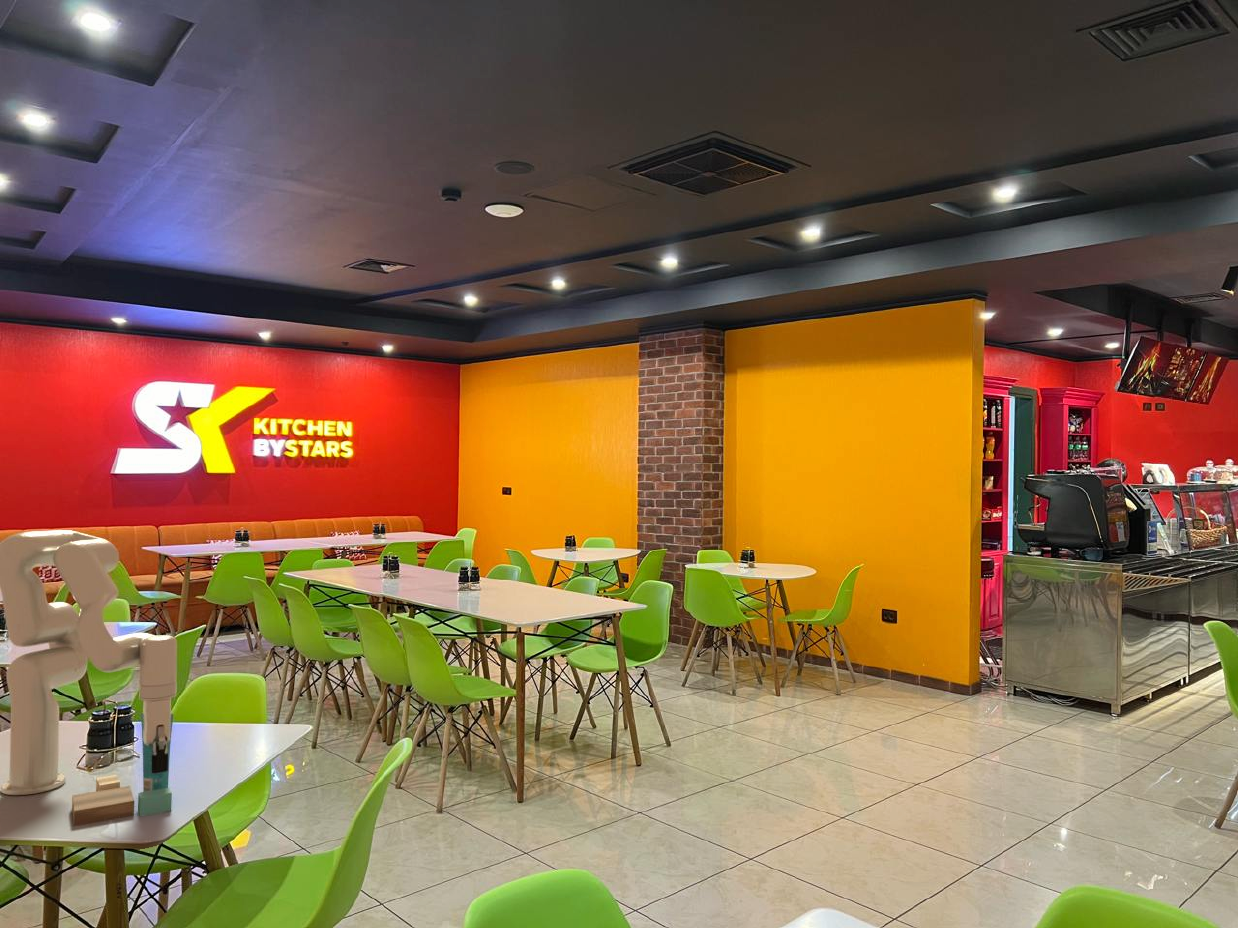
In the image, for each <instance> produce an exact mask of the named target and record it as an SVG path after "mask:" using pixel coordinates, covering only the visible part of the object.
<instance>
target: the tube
mask: <svg viewBox="0 0 1238 928" xmlns="http://www.w3.org/2000/svg"><path fill="white" fill-rule="evenodd" d="M174 715H175V713H171V728H170V741H169V742H167V753H168V771H166V772H160V773H154V774H153V773H152V755H153V745H152V744H149V746H147V745H146V744H145V743H144V741H143V727H144V726H143V721H144V719H143V712H142V713H140V722H141V723H140V724H141V738H142V739H141V740H142V743H141V744H142V773H143V774H142V777H143V778H142V784H143V788H142V789H143V791H142V792H146V791H151V790H157V789H163V788H169V777H170V776H169V775H170V759H171V758H170V755H171V754H170V753H171V743H172V741H171V740H172V733H173V732H172V731H173V721H174ZM156 733H157V730H156ZM166 738H167V737H166ZM156 741H158V740H156ZM156 746H157V745H156Z"/></svg>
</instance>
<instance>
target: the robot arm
mask: <svg viewBox="0 0 1238 928" xmlns="http://www.w3.org/2000/svg"><path fill="white" fill-rule="evenodd" d="M119 560H120V555H119V551H118V548H117V547H116V546H115V545H114V544H113V543H112V542H110V541H109V540H107V539H105V538H103V537H102V538H101V537H97V536H95V535H90V534H86V533H82V532H80V531H74V530H66V529H58V530H57V529H56V530H41V531H40V530H37V531H36V530H34V531H24V532H19V533H15V534H12V535H9V536H8V537H6V538H5V539H3V540H2V541H0V593H1V596H2V603H3V610H4V611H3V613H4V617H5V622H6V630H7V635H8V637H9V640H10V643H12V644H13V645H14V646H16V647H19V648H29V647H35V646H41V645H45V644H48V647H49V648H45V649H40V650H35V651H32V652H28V653H24V654H21V655H20V656H18V657H16V658H14V660H12V662H11V663H9V666H8V668H7V670H6V682H7V683H6V684H7V688H8V693H9V698H10V700H9V701H10V735H9V736H10V743H9V744H10V745H9V779H8V781H5V782H4V783H3V784H2V785H1V786H0V792H1V793H2V794H4V795H9V796H25V795H34V794H40V793H44V792H48V791H52V790H54V789H56V788H57V789H58V788H59V787H61V786H63V785H64V784H65V783H66V775H64V774H62V773H59V749H60V748H59V745H60V741H59V740H60V739H59V737H60V706H59V703H58V700H57V699H56V696H55V695H54V693H53V692H52V690H54V689H56V688H60V687H64V686H68V685H70V684H74V683H76V682H78V681H80V680H81V679H82V678H83V677H84V676H85V674H86V672H87V669H88V660H89V661H90V663H91V664H92V666H94V667H95V668H96V669H97V670H98V671H101V672H103V673H115V672H117V671H122V670H125V669H129V668H134V667H138V666H139V680H138V681H139V684H138V685H139V687H138V688H139V691H138V692H139V694H138V695H139V696H138V699H139V700H140V701H143V703H142V704H143V705H142V707H143V708H142V713H143V719H144V721H143V726H144V727H143V741H144V743H145V744H146V745H147V746H149V744H152V745H153V755H152V773H153V774H154V773H160V772H166V771H168V753H167V742H169V741H170V728H171V714H172V698H176V697H177V690H178V689H177V684H178V683H177V682H178V681H177V675H178V673H177V671H178V664H177V663H178V660H177V659H178V640H177V638H176V637H175V636H172V635H170V634H163V635H162V634H161V635H155V634H151V633H148V632H134V633H133V632H132V633H129V634H123V635H119V636H114V637H113V636H112V635H111V634H110V632H109V630H108V629H107V627H106V624H105V622H104V617H103V615H104V610H105V608H106V607H107V608H108V606H110V605H111V604H113V602H114V601H115V600H116V599H117V598H118V596H119V589H118V587H117V585H116V584H115V583H114V580H113V579H112V578H111V576H110V575H109V573H111V572H112V571H113V570H115V569H116V568H117V566H118V564H119ZM51 566H54V567H55V568H56V570H57V572H58V574H59V575H60V577H61V579H62V581H63V583H64V584H65V586H66V587H67V589H68V590H69V592H70V594H71V596H72V597H73V600H74V601H75V602H76V604H77V606H78V608H79V612H78V611H77V609H76V608H75V607H74V606H73V605H72V604H70V603H67V602H63V601H55V602H49V603H48V599H47V593H46V588H45V587H46V586H45V584H44V582H43V581H42V579H41V578H40V576H39V575H38V574H37V573H36V572H35V571H34V570H33V569H34V568H39V567H51ZM156 730H157V733H156ZM166 737H167V738H166ZM156 740H158V741H156ZM156 745H157V746H156Z"/></svg>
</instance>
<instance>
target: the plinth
mask: <svg viewBox="0 0 1238 928" xmlns="http://www.w3.org/2000/svg"><path fill="white" fill-rule="evenodd" d="M71 802H72V803H71V812H72V819H73V826H80V825H85V824H91V823H95V822H102V821H107V820H112V819H117V818H118V819H119V818H123V817H130V816H134V815H135V798H134V795H133V791H132V789H131V786H130V785H128V786H122V787H121V786H120V788H114V789H108V790H102V791H96V790H95V791H91V792H85V793H79V794H73V795H72V799H71Z"/></svg>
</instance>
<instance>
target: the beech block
mask: <svg viewBox="0 0 1238 928" xmlns="http://www.w3.org/2000/svg"><path fill="white" fill-rule="evenodd" d="M95 783H96V784H95V792H96V791H102V790H108V789H114V788H121V781H120V778H119V777H118V775H117V774H113V775H106V776H102V777H101V776H100V777H97V778H96V782H95Z"/></svg>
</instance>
